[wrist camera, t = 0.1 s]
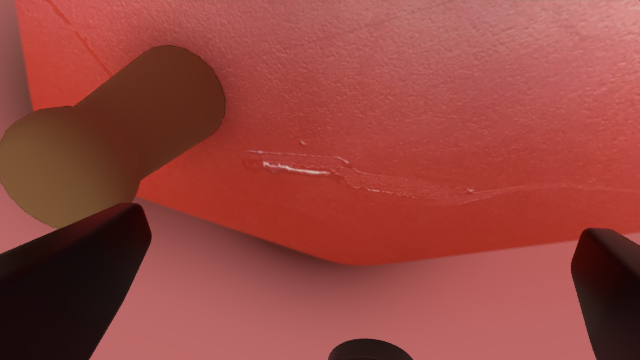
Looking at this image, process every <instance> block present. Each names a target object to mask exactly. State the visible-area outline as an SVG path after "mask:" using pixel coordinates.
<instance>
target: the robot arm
mask: <svg viewBox="0 0 640 360" xmlns="http://www.w3.org/2000/svg"><path fill="white" fill-rule="evenodd" d="M151 237H152V235H151V230H150V227H149V224H148V221H147V218H146V215H145V213H144V210H143V208H142V206H141V205H139V204H137V203H119V204H117V205H114V206H112V207H109V208H107V209H105V210H102V211H100V212H98V213H95V214H93V215H91V216H88V217H86V218H84V219H81V220H79V221H77V222H74V223H72V224H70V225H67V226H65V227H62V228H60V229H58V230H55V231H53V232H51V233H48V234H46V235H44V236H42V237H39V238H37V239H34V240H32V241H30V242H27V243H25V244H23V245H20V246H18V247H16V248H13V249H11V250H8V251H6V252H4V253H1V254H0V360H89V359H90V357H91V356H92V354H93V352H94V351H95V349H96V347H97V346H98V344H99V342H100V340H101V339H102V337H103V335H104V334H105V332H106V330H107V329H108V327H109V325H110V324H111V322H112V320H113V318H114V317H115V315H116V313H117V312H118V310H119V308H120V306H121V305H122V303H123V301H124V299H125V297H126V294H127V293H128V291H129V289H130V286H131V284H132V282H133V280H134V278H135V276H136V273H137V271H138V269H139V267H140V265H141V263H142V261H143V258H144V256H145V254H146V252H147V250H148V248H149V245H150V243H151ZM571 274H572V278H573V281H574V285H575V288H576V292H577V296H578V299H579V303H580V307H581V310H582V314H583V317H584V321H585V325H586V328H587V332H588V335H589V339H590V342H591V345H592V348H593V351H594V354H595V356H596V359H597V360H640V245H638V244H636V243H635V242H633V241H631V240H629V239H628V238H626V237H624V236H622V235H621V234H619V233H617V232H616V231H614V230H611V229H603V228H587V229H585V230H584V231H583V232H582V234H581V236H580V239H579V241H578V244H577V247H576V250H575V253H574V256H573V258H572V262H571ZM336 360H339V359H336Z"/></svg>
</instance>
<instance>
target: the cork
mask: <svg viewBox="0 0 640 360" xmlns="http://www.w3.org/2000/svg"><path fill="white" fill-rule="evenodd" d="M224 114H225V97H224V94H223V90H222V86H221V83H220V82H219V80H218V78H217V77H216V75H215V73H214V72H213V70H212V69H211V68H210V67H209V66H208V65H207V64H206V63H205V62H204V61H203V60H202V59H201V58H200V57H199V56H197V55H195V54H193V53H191V52H190V51H188V50H186V49H184V48H180V47H175V46H170V45H165V46H158V47H153V48H151V49H150V50H148V51H146V52H144V53H143V54H141V55H140V56H139V57H137V58H136V59H135V60H133V61H132V62H131V63H130V64H128V65H127V66H126V67H124V68H123V69H122V70H120V71H119V72H118V73H117V74H115V75H114V76H113V77H111V78H110V79H109V80H108V81H106V82H105V83H104V84H102V85H101V86H100V87H98V88H97V89H96V90H95V91H93V92H92V93H91V94H89V95H88V96H87V97H85V98H84V99H83V100H82V101H80V102H79V103H78V104H76V105H75V106H74V107H72V106H63V107H53V108H46V109H39V110H37V111H35V112H33V113H30V114H28V115H27V116H25V117H23V118H22V119H20V120H18V121H16V122H15V123H14V124H13V125H11V126H10V127H9V128H8V129H7V130H6V131H5V133H4V135H3V137H2V139H1V141H0V182H1V184H2V185H3V187H4V189H5V190H6V192H7V193H8V195H9V196H10V197H11V199H12V200H13V201H14V202H15V203H16V204H17V205H18V206H19V207H20V208H21V209H22V210H24V211H25V212H26V213H28V214H29V215H31V216H32V217H33V218H35V219H36V220H38V221H40V222H42V223H44V224H46V225H49V226H50V227H53V228H57V229H60V228H62V227H65V226H67V225H70V224H72V223H74V222H77V221H79V220H81V219H84V218H86V217H88V216H91V215H93V214H95V213H98V212H100V211H102V210H105V209H107V208H109V207H112V206H114V205H117V204H119V203H131V202H132V201H133V199H134V197H135V195H136V193H137V191H138V188H139V184H140V181H141V180H142V179H143V178H145V177H146V176H148V175H150V174H151V173H153V172H154V171H156V170H157V169H159V168H160V167H162V166H164V165H165V164H167V163H168V162H170V161H171V160H173V159H174V158H176V157H178V156H179V155H181V154H182V153H184V152H185V151H187V150H189V149H190V148H192V147H193V146H195V145H196V144H198V143H199V142H201V141H203V140H204V139H206V138H207V137H209V136H210V135H212V134H213V133H214V131H215V130H216V129H217V128H218V127H219V126H220V124H221V122H222V119H223V117H224Z"/></svg>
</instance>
